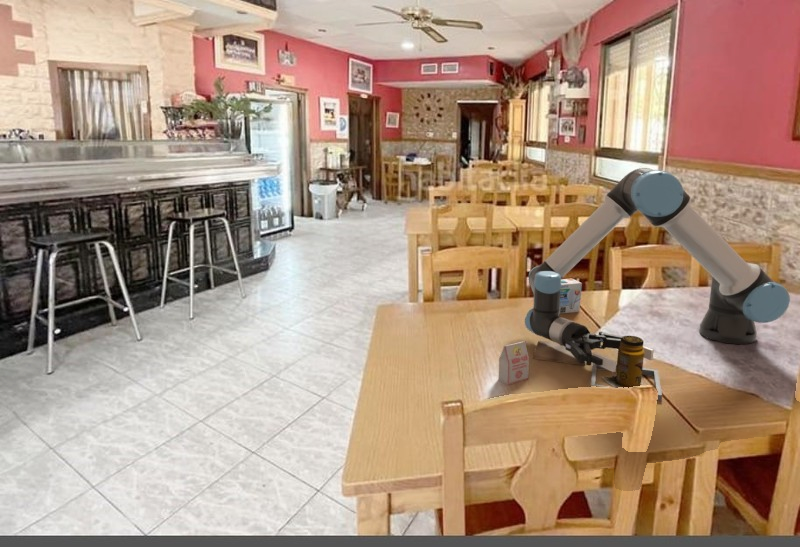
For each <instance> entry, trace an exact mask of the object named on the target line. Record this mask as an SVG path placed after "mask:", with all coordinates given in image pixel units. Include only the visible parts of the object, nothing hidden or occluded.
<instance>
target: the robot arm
mask: <svg viewBox="0 0 800 547" xmlns="http://www.w3.org/2000/svg"><path fill="white" fill-rule="evenodd" d="M691 200H692V198H691V196H690V195H689V194H688V193H687V192H686V191H685V190H684V187H683V185H682V182H680V180H679V179H678V178H677V177H676V176H675V175H674V174H672V173H670V172H668V171H666V170H663V169H662V170H660V169H652V168H649V167H641V168H637V169H634V170H631V171H630V172H628V173H627V174H626V175H625V176H624V177H622V179H620V180H619V182H617V184H616V185H614V187H613V188H612V189H611V190H610V191H609V192H607V194H605V196H604V202H602V203H601V205H599V207H598V208H596V210H594V211H593V213H592V214H590V215H589V217H588V218H587V219H586V220H584V221H583V222H582V223H581V224H580V225H579V226H578V227H577V229H575V230H574V231H573V232H572V233H571V234H570V235H569V236H568V237H567V238H566V239H565V240H564V241H563V242H562V244H560V245H559V246H558V247H557V248H556V249H555V250H554V251H553V252H552V253H551V254H550V255H549V256H548V257H547V258H546V259H545V260H544V261H543V262H542V263H541V264H539V265H536V266H535V267H533V268H531V270H530V271H529V273H528V284H529V287H530V288H531V291H532V293H533V306H532V308H531V309H530V310H528V312H526V317H525V318H524V325H525V328H526V329H527V330H528V331H529V332H531V333H533V334H535V335H536V336H539V337H542V338H544V339H547V340H549V341H550V342H556V343H558V344H560V346H565V347H566V350H568V351H569V352H571V353H572V355H573V356H574V357H575V358H576V359H577V360H578V361H579V363H584V361H585V366H591V365H592V364H593V363H594V364H596V365H598V366H601V367H603V368H605V369H607V370H606V371H609V370H610V372H612V373H616V365H617V360H614V359H613V358H609V357H607V356H605V355H603V354H601V353H598V352H592V350H595V349H599V350H601V349H602V350H605V349H606V348H607V349H616V350H618V348H619V347H620V343H621V338H622V337H623V336H624V335H618V334H613V333H607V332H604V331H598V334H597V333H591V332H590V330H589V329H588V327H587V326H586V325H583V324H580V323H578V322H575V321H574V320H571V319H568V318H566V317H562V316H560V313H559V310H560V308H559V307H560V293H561V287H562V285H561V279H564V277H565V276H566V275H567V274H568V273H569V272H570V271H571V270H572V269H574V267H575V266H576V265H577V264H578V263H579V262H580V261H582V260H583V258H584V257H586V256H587V254H589V253H590V252H591V251H592V250H593V249H594V248H595V247H596V246H597V245H598V244H599V243H600V242H601V241H602V240H604V238H605V237H606V236H607V235H609V234H610V233H611V231H612V230H614V229H615V228H616V227H617V226H618V225H619V224H620V223H622V221H623V220H624V219H630V218H631V217H632V216H634V215H635V213H637V212H639V213H640V214H641V215H642V216H643V217H644V218H645V219H646V220H647V221H648V222H649V223H651V224H650V225H652V226H653V227H656V228H663V229H665V230H666V231H667V233H669V234H670V235H671V236H672V238H673V239H675V241H677V242H678V243H679V245H680V246H682V248H684V250H686V251H687V252H688V254H689V255H690V256H692V258H694V259H695V260H696V262H697V263H699V265H700V266H701V267H702V268H703V269H704V270H705V271H706V272H707V273H709V274H710V276H711V277H712V279H711V286H710V292H709V293H710V296H709V304H708V308H707V311H706V313H705V314H704V316H703V318H702V320H701V322H700V324H699V332H698V333H699V334H700V335H701V336H703V337H705V338H708V339H709V340H712V341H716V342H720V343H726V344H734V345H735V344H736V345H747V344H751V343H755V342H756V340H757V334H758V332H757V329H756V323H760V324H765V323H766V324H768V323H772V322H774V321H776V320H778V319H780V318H781V317H782V316H783V315H784V314H785V313H786V312H787V311H788V308H789V305H790V301H791V297H790V296H791V295H790V293H789V291H788V289H787V288H786V287H784V286H783V284H780V283H778V282H775V280H773V279H772V278H771V277H770V276H769V275H768V274H767V273H766V272H765V271H764V270H763V269H762V268H761V266H759V264H755V263H749V262H746V260H744V258H743V257H741V256H740V254H739V253H737V251H736V250H735V249H733V247H732V246H731V245H729V243H728V242H727V241H726V240H725V239H724V238H723V237H722V236H721V235H719V233H718V232H717V231H716V230H715V229H714V227H712V225H710V224H709V223H708V222H707V221H706V220H705V219H704V218H703V217H702V216H701V215H700V214H699V213H698V212H697V211H696V209H694V208H693V207H692V206H691ZM601 343H602V344H601ZM643 350H644V359H646V360H649V361H653V359H654V350H655V349H652V348H650V347H647V346H644V345H643Z"/></svg>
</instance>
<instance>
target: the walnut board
mask: <svg viewBox="0 0 800 547" xmlns="http://www.w3.org/2000/svg"><path fill="white" fill-rule="evenodd" d="M532 359H533V360H540V361H541V360H542V361H547V362H555V363H557V362H558V363H565V364H571V365H572V364H573V365H578V366H579V365H580V366H586V361H584V363H579V361H578V360H577V359H576V358H575V357H574V356H573V355H572V353H571V352H569V351H568V350H566V347H565V346H560V344H558V343H556V342H553V341H544V340H538V342H537V344H536V346H535V350H534V352H533V355H532Z"/></svg>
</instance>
